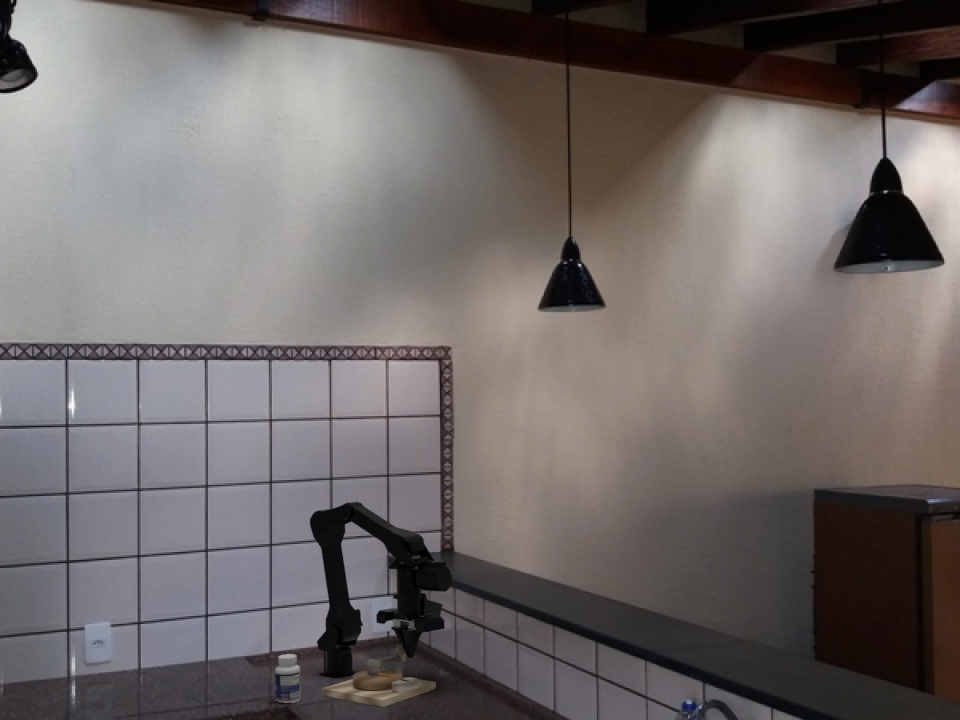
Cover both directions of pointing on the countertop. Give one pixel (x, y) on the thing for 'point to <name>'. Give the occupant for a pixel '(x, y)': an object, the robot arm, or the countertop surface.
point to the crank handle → (380, 672)
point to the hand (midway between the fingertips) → (410, 657)
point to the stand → (380, 691)
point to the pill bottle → (287, 679)
